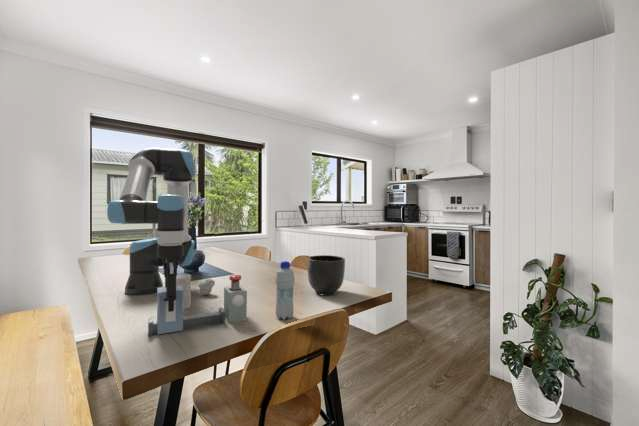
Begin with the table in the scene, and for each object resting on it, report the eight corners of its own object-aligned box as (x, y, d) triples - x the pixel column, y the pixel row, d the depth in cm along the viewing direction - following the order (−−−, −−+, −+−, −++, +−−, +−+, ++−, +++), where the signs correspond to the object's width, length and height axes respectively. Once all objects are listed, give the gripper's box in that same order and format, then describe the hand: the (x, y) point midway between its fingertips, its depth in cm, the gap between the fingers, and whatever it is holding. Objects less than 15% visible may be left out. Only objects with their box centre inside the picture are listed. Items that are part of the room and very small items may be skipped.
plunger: (228, 298, 109) (228, 275, 109) (239, 296, 111) (239, 274, 111) (230, 301, 105) (230, 278, 105) (242, 299, 107) (242, 276, 107)
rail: (148, 330, 96) (148, 317, 96) (222, 318, 107) (222, 307, 107) (148, 336, 91) (148, 322, 91) (225, 323, 102) (225, 311, 102)
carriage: (157, 326, 98) (157, 287, 98) (180, 322, 102) (181, 284, 102) (157, 335, 91) (157, 293, 91) (183, 331, 95) (183, 290, 94)
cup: (181, 311, 113) (181, 279, 113) (162, 309, 115) (162, 277, 114) (194, 304, 121) (195, 274, 121) (176, 303, 123) (176, 273, 122)
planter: (352, 294, 139) (352, 259, 139) (320, 300, 129) (321, 262, 129) (329, 286, 153) (330, 254, 153) (300, 291, 143) (300, 256, 143)
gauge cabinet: (223, 314, 110) (224, 287, 110) (240, 312, 113) (240, 285, 113) (229, 322, 103) (229, 293, 103) (246, 319, 106) (247, 291, 106)
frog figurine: (215, 295, 134) (215, 279, 134) (198, 297, 131) (198, 281, 131) (213, 292, 139) (214, 276, 139) (197, 293, 136) (197, 278, 136)
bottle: (275, 314, 112) (276, 259, 111) (293, 314, 112) (294, 259, 112) (274, 321, 105) (275, 263, 105) (293, 320, 106) (294, 263, 105)
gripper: (156, 241, 103) (156, 309, 103) (157, 248, 86) (157, 330, 86) (181, 240, 106) (180, 306, 107) (186, 247, 89) (186, 326, 90)
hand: (170, 317), depth 96 cm, fingers closed on carriage, 6 cm apart
